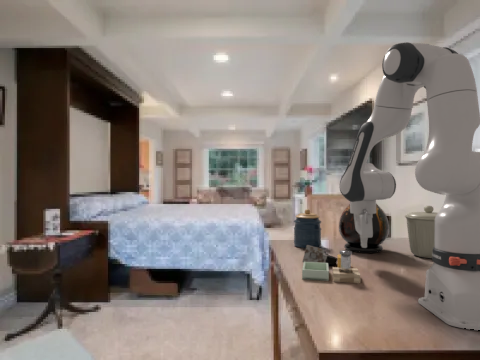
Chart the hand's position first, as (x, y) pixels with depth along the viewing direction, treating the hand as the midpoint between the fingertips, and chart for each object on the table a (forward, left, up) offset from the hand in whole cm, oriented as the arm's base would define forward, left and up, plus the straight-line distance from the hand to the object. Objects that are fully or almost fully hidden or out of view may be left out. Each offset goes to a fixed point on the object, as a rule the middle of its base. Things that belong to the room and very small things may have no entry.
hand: (363, 247), depth 125 cm
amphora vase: (+35, -4, -8) cm, 36 cm away
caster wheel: (+3, +15, -8) cm, 17 cm away
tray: (-13, +17, -8) cm, 23 cm away
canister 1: (+39, +21, -8) cm, 45 cm away
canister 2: (+28, -29, -8) cm, 41 cm away
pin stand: (-15, +7, -8) cm, 18 cm away
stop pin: (-15, +7, -8) cm, 18 cm away
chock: (+1, +7, -8) cm, 11 cm away
